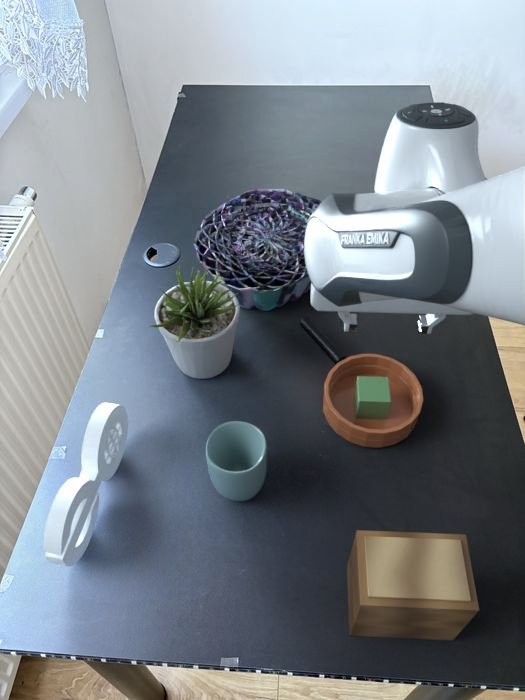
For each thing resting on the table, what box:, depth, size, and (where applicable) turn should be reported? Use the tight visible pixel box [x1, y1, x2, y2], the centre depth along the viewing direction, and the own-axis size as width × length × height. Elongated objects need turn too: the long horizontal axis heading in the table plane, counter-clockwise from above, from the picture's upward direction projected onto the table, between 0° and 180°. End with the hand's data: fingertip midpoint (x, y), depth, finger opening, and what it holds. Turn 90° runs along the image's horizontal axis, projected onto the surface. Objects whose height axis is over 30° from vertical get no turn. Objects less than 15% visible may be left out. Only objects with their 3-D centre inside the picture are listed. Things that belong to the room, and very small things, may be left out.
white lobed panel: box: [43, 402, 129, 567], centre depth 78 cm, size 22×2×10 cm, turn 169°
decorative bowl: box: [192, 188, 323, 312], centre depth 107 cm, size 26×28×10 cm
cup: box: [205, 420, 268, 502], centre depth 79 cm, size 8×8×10 cm
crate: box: [346, 529, 480, 641], centre depth 68 cm, size 12×8×12 cm, turn 87°
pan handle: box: [298, 316, 347, 366], centre depth 95 cm, size 10×2×2 cm, turn 32°
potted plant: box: [149, 265, 241, 380], centre depth 89 cm, size 13×14×20 cm
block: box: [354, 376, 391, 419], centre depth 88 cm, size 4×4×4 cm
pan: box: [322, 353, 424, 449], centre depth 89 cm, size 14×14×4 cm
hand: (386, 329), depth 77 cm, fingers open, 8 cm apart
